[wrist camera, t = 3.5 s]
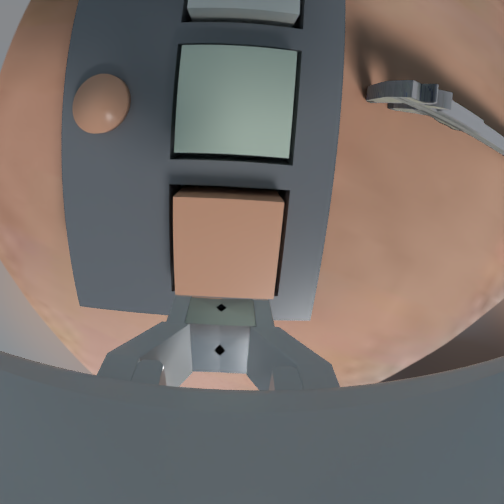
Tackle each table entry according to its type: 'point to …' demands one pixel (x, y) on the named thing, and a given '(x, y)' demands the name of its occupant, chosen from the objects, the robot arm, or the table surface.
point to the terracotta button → (226, 241)
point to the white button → (245, 11)
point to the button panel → (185, 164)
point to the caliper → (434, 108)
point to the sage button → (235, 100)
